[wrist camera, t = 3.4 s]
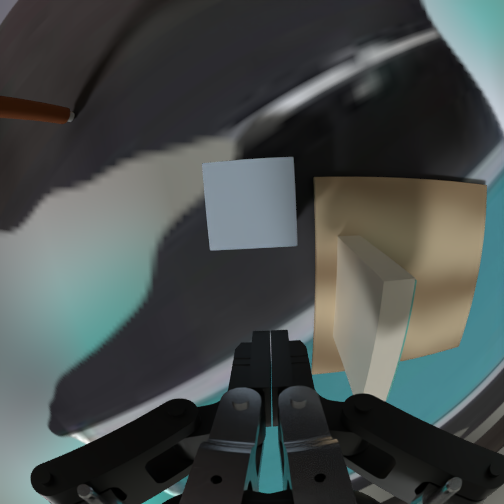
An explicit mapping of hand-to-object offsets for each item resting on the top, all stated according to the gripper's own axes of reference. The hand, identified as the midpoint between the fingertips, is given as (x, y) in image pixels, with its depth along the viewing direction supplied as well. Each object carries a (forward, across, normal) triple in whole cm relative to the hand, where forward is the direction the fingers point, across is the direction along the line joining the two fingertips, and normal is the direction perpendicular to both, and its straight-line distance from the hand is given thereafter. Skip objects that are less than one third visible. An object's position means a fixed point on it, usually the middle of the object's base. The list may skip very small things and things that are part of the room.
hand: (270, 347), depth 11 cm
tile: (+6, -5, 0) cm, 7 cm away
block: (+6, +1, -6) cm, 9 cm away
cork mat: (+6, -10, 0) cm, 12 cm away
